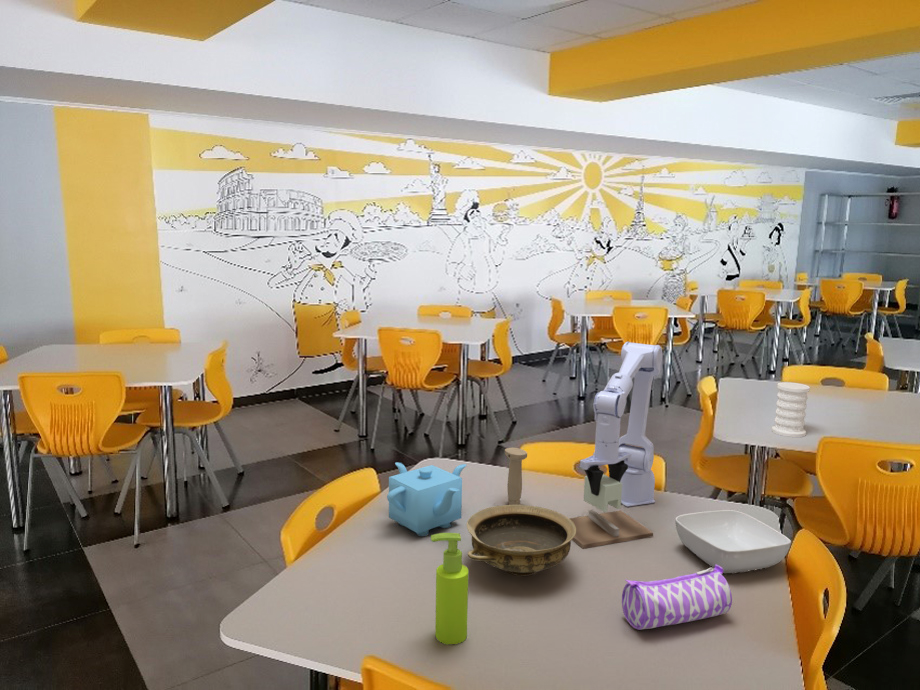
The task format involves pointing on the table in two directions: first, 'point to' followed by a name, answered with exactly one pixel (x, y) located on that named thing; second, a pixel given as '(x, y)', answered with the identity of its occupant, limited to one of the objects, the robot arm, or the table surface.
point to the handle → (515, 474)
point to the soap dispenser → (451, 592)
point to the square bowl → (732, 540)
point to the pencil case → (676, 599)
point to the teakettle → (425, 497)
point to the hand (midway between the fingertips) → (604, 492)
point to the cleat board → (607, 529)
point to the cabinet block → (604, 494)
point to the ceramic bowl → (520, 538)
